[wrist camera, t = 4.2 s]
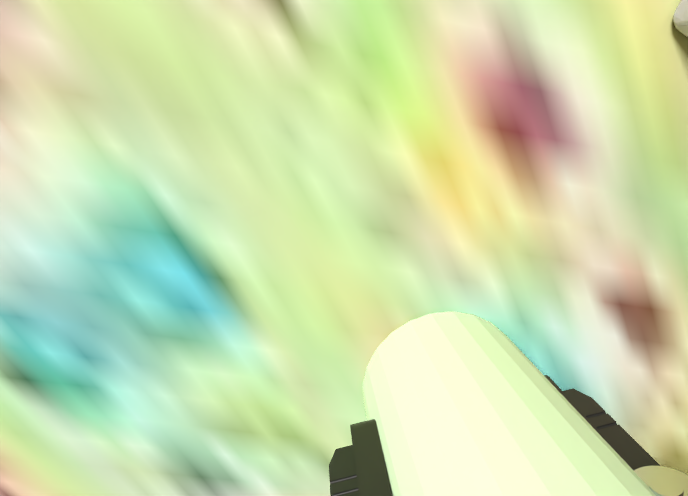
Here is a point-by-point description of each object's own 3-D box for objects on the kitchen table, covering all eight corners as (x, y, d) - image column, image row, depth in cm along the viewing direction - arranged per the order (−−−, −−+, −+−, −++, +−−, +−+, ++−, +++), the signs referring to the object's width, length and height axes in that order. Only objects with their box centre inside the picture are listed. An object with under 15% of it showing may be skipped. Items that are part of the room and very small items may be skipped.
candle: (481, 464, 15) (666, 823, 8) (340, 431, 15) (384, 794, 7) (543, 333, 14) (837, 594, 6) (394, 290, 14) (524, 527, 6)
